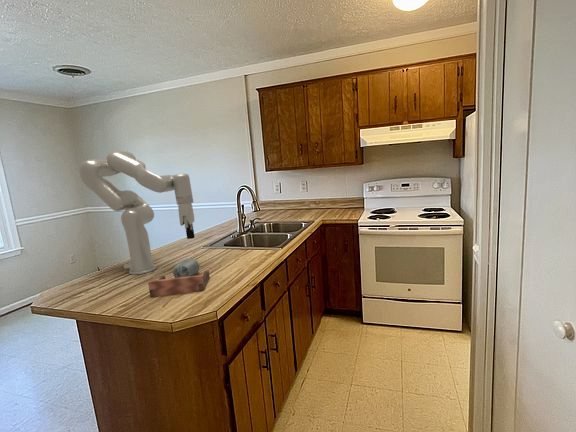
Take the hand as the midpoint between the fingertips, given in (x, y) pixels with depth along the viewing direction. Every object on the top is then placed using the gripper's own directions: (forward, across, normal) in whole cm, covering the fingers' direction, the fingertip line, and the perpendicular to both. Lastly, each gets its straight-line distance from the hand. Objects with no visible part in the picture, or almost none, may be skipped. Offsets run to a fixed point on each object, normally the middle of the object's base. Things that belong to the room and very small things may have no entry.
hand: (191, 238), depth 150 cm
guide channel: (+15, +24, -1) cm, 28 cm away
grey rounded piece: (+15, +14, -1) cm, 20 cm away
